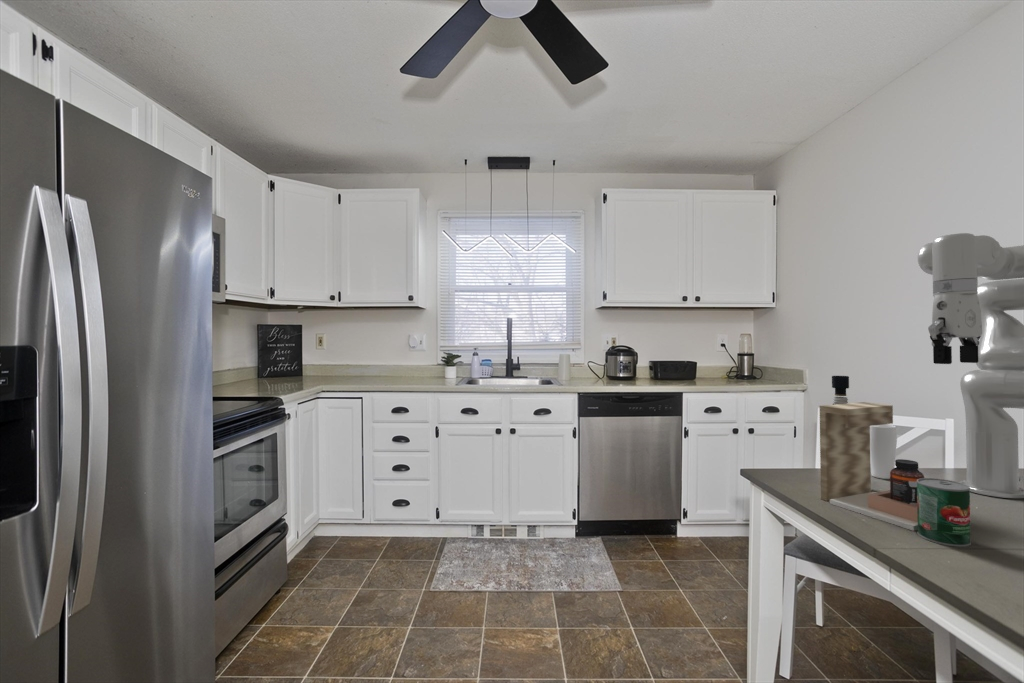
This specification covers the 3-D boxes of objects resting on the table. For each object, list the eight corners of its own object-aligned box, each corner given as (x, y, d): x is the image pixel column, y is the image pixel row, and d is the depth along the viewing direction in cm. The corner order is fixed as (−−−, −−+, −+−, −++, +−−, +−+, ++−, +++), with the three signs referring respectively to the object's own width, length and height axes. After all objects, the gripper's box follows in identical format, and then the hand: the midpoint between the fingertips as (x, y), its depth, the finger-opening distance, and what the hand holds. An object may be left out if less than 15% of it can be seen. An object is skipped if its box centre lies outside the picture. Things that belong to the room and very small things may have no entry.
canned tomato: (965, 550, 89) (964, 492, 89) (912, 537, 95) (911, 482, 95) (975, 539, 93) (974, 484, 94) (923, 527, 100) (922, 475, 100)
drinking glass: (903, 481, 132) (902, 427, 132) (875, 480, 134) (874, 427, 134) (888, 474, 139) (888, 423, 139) (863, 473, 140) (862, 423, 140)
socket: (874, 495, 120) (874, 479, 120) (961, 520, 104) (960, 501, 104) (829, 503, 115) (829, 487, 115) (913, 530, 98) (913, 511, 98)
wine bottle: (828, 480, 134) (826, 375, 134) (856, 484, 130) (854, 375, 130) (827, 486, 129) (825, 376, 129) (856, 490, 125) (854, 377, 125)
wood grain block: (864, 491, 124) (863, 402, 124) (894, 499, 117) (892, 405, 117) (820, 499, 118) (819, 405, 118) (849, 508, 112) (847, 409, 112)
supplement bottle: (924, 517, 102) (923, 465, 102) (889, 511, 107) (888, 461, 107) (925, 510, 107) (924, 460, 107) (891, 504, 111) (891, 456, 111)
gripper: (950, 285, 102) (952, 365, 102) (998, 287, 108) (999, 362, 108) (911, 289, 109) (912, 363, 109) (958, 291, 115) (959, 361, 115)
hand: (956, 363), depth 108 cm, fingers open, 9 cm apart
